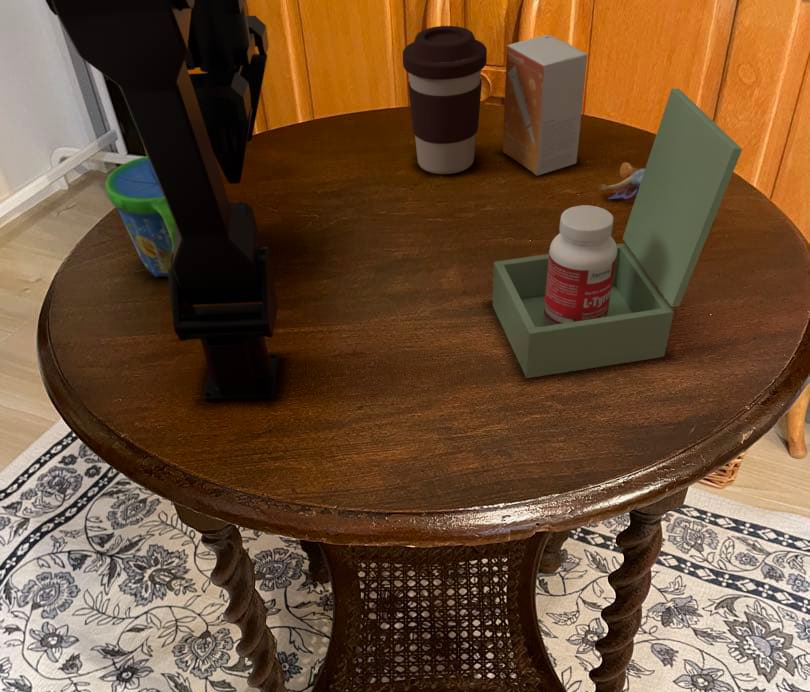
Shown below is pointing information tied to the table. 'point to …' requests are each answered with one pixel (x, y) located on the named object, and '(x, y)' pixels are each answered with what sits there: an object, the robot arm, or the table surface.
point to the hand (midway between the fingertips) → (240, 161)
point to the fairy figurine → (627, 180)
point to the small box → (543, 103)
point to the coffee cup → (445, 96)
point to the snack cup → (144, 213)
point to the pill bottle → (580, 266)
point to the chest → (582, 340)
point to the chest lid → (679, 194)
